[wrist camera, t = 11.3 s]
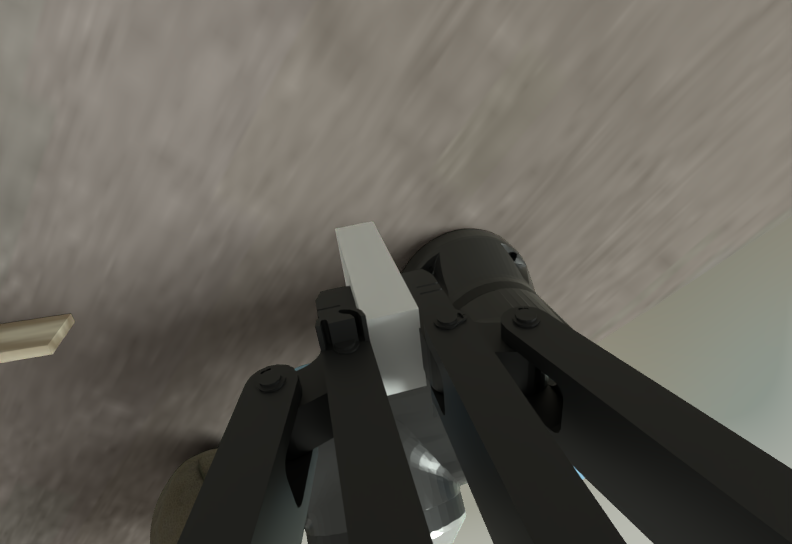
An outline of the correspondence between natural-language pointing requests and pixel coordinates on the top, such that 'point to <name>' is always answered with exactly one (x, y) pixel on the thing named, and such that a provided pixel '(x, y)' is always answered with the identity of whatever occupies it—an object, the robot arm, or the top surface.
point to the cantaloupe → (179, 499)
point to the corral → (33, 337)
